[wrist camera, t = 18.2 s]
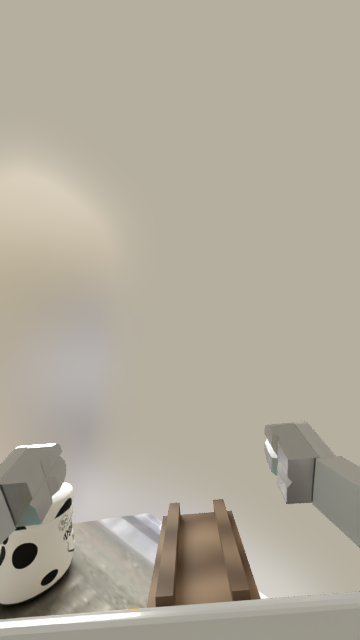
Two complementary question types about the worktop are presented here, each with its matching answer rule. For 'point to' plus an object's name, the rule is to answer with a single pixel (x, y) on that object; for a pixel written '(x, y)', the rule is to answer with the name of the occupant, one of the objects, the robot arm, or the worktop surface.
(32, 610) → the worktop surface
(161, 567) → the button stand
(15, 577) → the milk container
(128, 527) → the worktop surface
